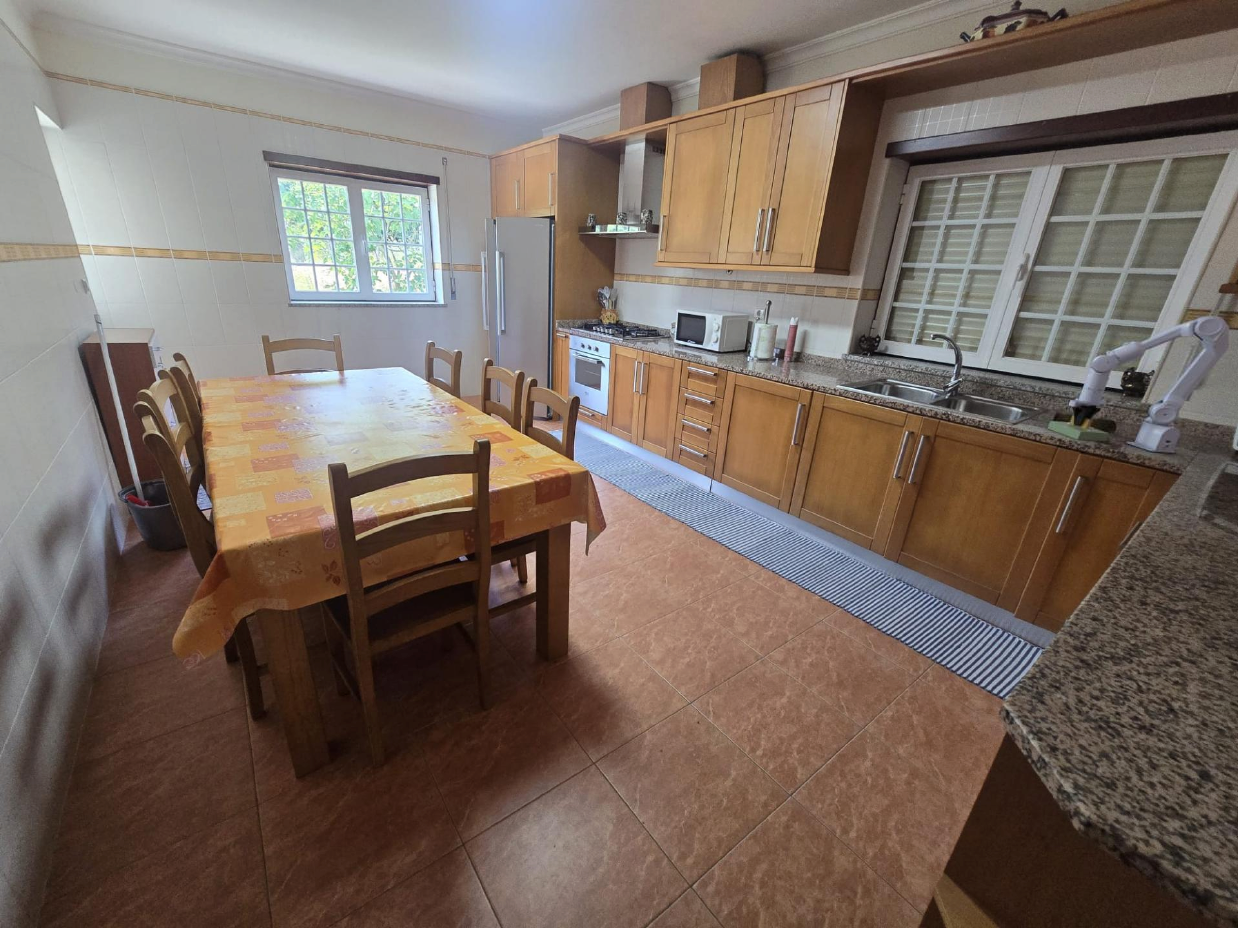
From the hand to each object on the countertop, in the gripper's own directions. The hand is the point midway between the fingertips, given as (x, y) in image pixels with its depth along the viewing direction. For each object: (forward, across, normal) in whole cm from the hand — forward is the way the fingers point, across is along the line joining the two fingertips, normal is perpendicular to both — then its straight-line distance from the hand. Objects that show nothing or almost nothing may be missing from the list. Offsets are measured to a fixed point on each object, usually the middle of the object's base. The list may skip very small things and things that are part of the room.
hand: (1079, 425), depth 184 cm
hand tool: (+4, -18, -11) cm, 22 cm away
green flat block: (+3, 0, 0) cm, 3 cm away
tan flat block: (0, 0, 0) cm, 0 cm away
